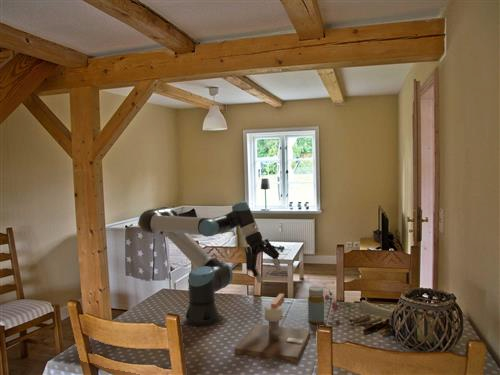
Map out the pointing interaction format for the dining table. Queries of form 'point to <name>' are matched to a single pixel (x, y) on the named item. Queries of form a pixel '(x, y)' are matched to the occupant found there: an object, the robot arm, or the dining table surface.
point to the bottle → (316, 305)
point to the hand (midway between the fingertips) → (270, 277)
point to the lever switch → (275, 309)
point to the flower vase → (363, 308)
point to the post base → (273, 342)
